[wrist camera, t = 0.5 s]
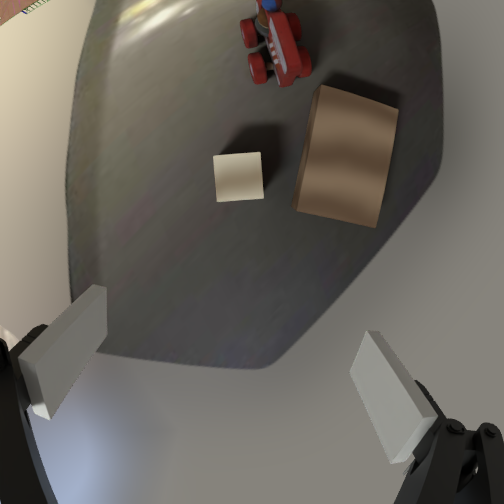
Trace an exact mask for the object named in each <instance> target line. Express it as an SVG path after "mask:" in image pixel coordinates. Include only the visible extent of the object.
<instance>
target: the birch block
mask: <svg viewBox="0 0 504 504" xmlns="http://www.w3.org/2000/svg"><path fill="white" fill-rule="evenodd" d="M213 159H214V172H215V184H216V195H217V202H223V201H235V200H248V199H261V198H264V195H263V181H262V167H261V153H260V152H253V153H240V154H228V155H217V156H213Z"/></svg>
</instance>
